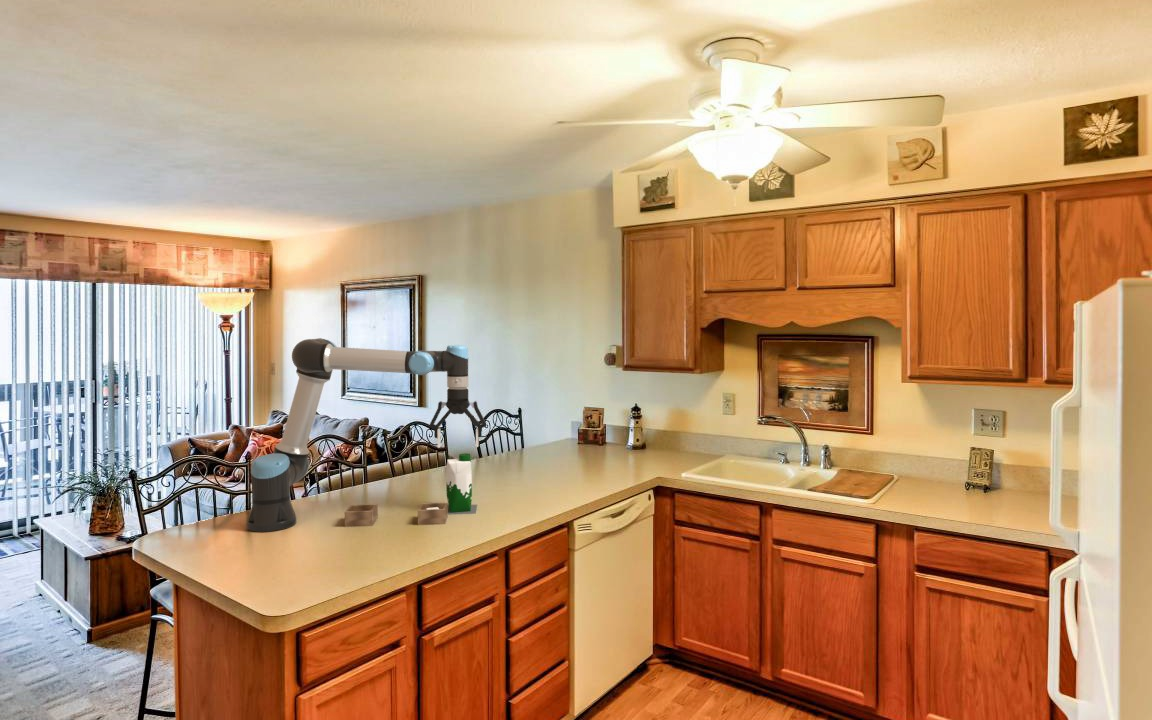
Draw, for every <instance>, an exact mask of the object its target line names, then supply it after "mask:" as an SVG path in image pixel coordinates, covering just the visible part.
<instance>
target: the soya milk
mask: <svg viewBox="0 0 1152 720" xmlns="http://www.w3.org/2000/svg"><path fill="white" fill-rule="evenodd" d="M445 470H446V471H445V473H446V474H445V479H446V481H445V482H446V489H445V490H446V499H447V503H448V506H449V509H450V512H451V513H454V512H466V511H471V505H472V500H473V499H472V498H473V481H472V480H473V478H472V477H473V475H472V474H473V472H472V459H471V454H470V453H460V454H459V455H458V458H453V459H452V458H450V459H449V458H448V459H447V462H446V469H445Z"/></svg>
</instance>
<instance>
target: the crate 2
mask: <svg viewBox="0 0 1152 720" xmlns="http://www.w3.org/2000/svg"><path fill="white" fill-rule="evenodd" d="M448 506H449V505H448V502H429V503H428V502H427V503H426V502H425V503H423V502H422V503H421V504H420V505H419V507H418V508H417V526H424V525H425V526H434V525H446V523H447V519H448V518H449V517H448V516H449V515H448ZM433 507H438V508H439V509H430V510H426V508H433Z"/></svg>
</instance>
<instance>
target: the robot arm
mask: <svg viewBox="0 0 1152 720" xmlns="http://www.w3.org/2000/svg"><path fill="white" fill-rule="evenodd" d="M468 350H469V349H468V347H467V346H466V345H462V344H461V345H460V344H455V345H449V344H448V345H447V346H446V350H416V351H409V350H407V351H406V350H390V349H378V348H377V349H375V348H374V349H373V348H358V347H356V348H355V347H343V346H342V347H341V346H337V345H336V344H335V343H334V342H332V341H331V340H329V339H325V338H322V337H321V338H320V337H319V338H308V339H304V340H301V341H299V342H298V343H297V344H296V345H295V346H294V347H293V349H292V352H291V360H292V361H291V362H292V363H293V365H294V366H295V368H296V371H295V372H296V374H297V376H298V381H297V383H296V384H297V385H296V387H295V392H294V394H293V399H292V402H291V406H290V408H289V409H290V410H289V413H288V417H287V420H286V422H285V423H286V424H285V426H284V431H283V434H282V437H281V441H279V442H278V443H277V444H275V446H274V450H273V453H269V454H264V455H260V456H257V457H256V458H255V459H253V460H252V462H251V465H250V466H251V467H250V475H251V476H250V477H251V503H252V505H251V508H250V512H249V515H248V518H247V522H246V528H247V530H248V531H251V532H254V533H255V532H256V533H265V532H275V531H281V530H287V529H289V528H291V527H294V526H295V525H296V524H297V515H296V512H295V509H294V507H293V504H292V502H291V486H292V485H294V484H296V483H299V482H300V481H301V480H302V479H304V477H305V476H306V475H307V473H308V471H309V467H310V462H309V461H310V460H309V455H310V450H309V448H308V441H309V438H310V435H311V431H312V428H313V424H314V420H315V417H316V415H317V414H316V413H317V410H318V406H319V403H320V399H321V395H322V393H323V390H324V385H325V383H327V382H329V381H331V376H332V373H333V371H334V370H340V371H355V372H356V371H358V372H359V371H360V372H379V373H380V372H381V373H397V374H398V373H401V374H411V375H412V374H413V375H417V376H425V375H428V374H429V373H432V372H433V373H436V372H437V373H439V372H440V373H441V372H442V373H443V372H446V386H447V390H446V393H447V394H446V396H447V398H446V399H447V400H446V401H445V402H444V401H442V400H441V401H439V402H438V404H437V409H436V411H435V413H434V415H433V417H432V419H431V422H430V423H429V425H428V427H429V428H431V429H433V430H434V439H437V448H439V449H440V448H441V446H442V445H441V442H442V441H441V428H439V427H440V426H441V425H442V424H443V423H444V422H445V421H446V419H447V418H448V417H449V416H450V414H453V415H463V414H465V415H466V416H467V417H468V418H469V420H471V422H472V423H473V424H474V425H475V426H476V429H475V448H478V447H479V438H482V435H483V433H482V432H483V428H485V427H487V422H486V421H485V418H484V415H482V412H481V411H480V408H479V407H478V401H477V400H474V401H469V389H468V388H469V351H468ZM445 406H446V408H447V409H448V410H447V411H446V413H445V414H444V415H443V416H442V417H441V418H440V420H439V421H438V422H437V423H436V420H437V419H438V417H439V415H440V413H441V412H442V409H443V408H444V407H445ZM470 406H471V407H472V408H473V409H474V411H475V414H477V417H478V419H479V421H480V422H479V421H478V420H477V418H475V416H474V415H473V414H472V413H471V412H470V410H469V409H468V408H469V407H470ZM435 423H436V424H435Z"/></svg>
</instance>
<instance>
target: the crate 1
mask: <svg viewBox="0 0 1152 720" xmlns="http://www.w3.org/2000/svg"><path fill="white" fill-rule="evenodd" d="M378 507H379V505H378V503H377V504H376V503H367V504H350V506H348V507H347V508H346V510H345V511H344V513H343V514H344V528H349V527H351V528H353V527H372V526H374V525H375V523H376V522H377V521H378V519H379V508H378Z"/></svg>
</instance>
